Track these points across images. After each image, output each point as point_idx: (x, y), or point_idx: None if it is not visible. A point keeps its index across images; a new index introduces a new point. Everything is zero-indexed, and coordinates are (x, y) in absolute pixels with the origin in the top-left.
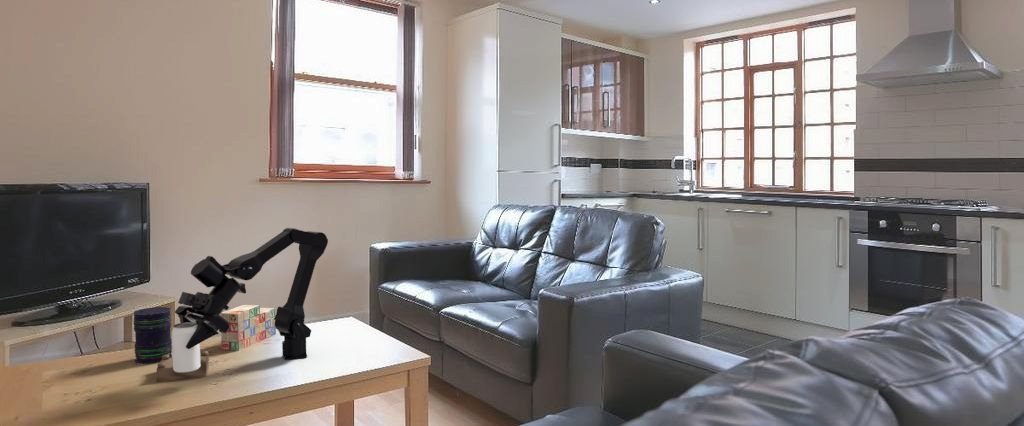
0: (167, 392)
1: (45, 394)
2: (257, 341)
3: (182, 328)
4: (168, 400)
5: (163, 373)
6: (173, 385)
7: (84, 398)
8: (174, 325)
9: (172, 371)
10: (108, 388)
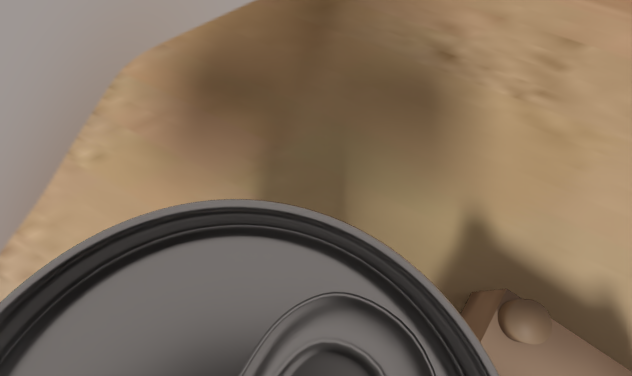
0: None
1: (607, 11)
2: None
3: (43, 292)
4: (187, 192)
5: (477, 318)
6: None
7: (470, 51)
8: (427, 298)
9: None
10: (527, 137)
